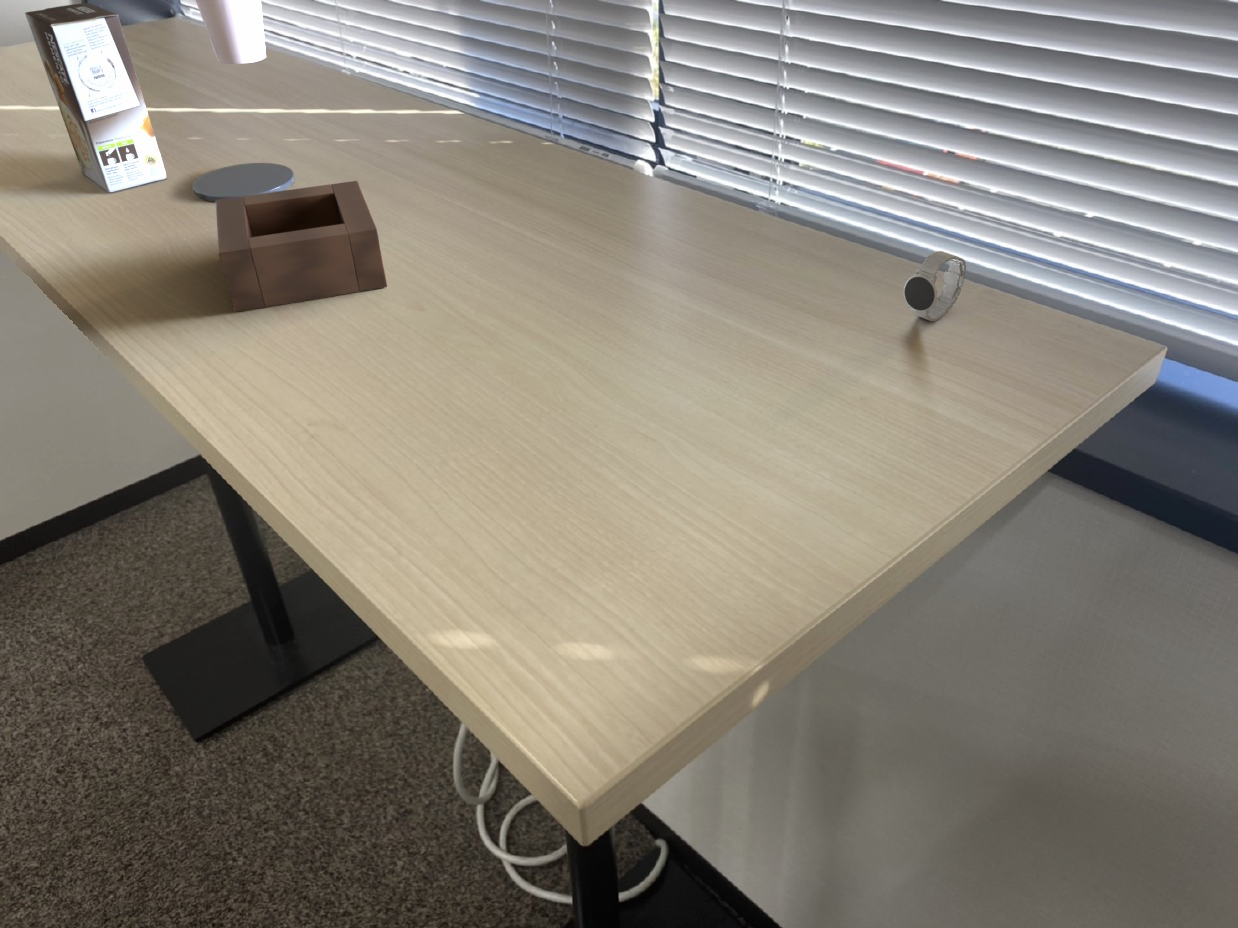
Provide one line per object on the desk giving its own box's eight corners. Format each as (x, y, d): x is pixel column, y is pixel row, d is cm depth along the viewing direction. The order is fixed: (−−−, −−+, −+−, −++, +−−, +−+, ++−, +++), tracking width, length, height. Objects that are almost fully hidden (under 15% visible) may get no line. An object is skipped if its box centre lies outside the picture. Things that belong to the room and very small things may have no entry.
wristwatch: (897, 320, 73) (907, 258, 70) (935, 299, 76) (946, 239, 73) (930, 333, 71) (942, 271, 68) (967, 312, 74) (980, 250, 71)
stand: (235, 312, 76) (218, 253, 74) (230, 254, 86) (215, 199, 83) (387, 287, 80) (377, 229, 77) (367, 233, 89) (357, 180, 86)
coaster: (194, 208, 95) (192, 202, 94) (193, 175, 102) (192, 170, 102) (299, 194, 97) (297, 188, 97) (291, 163, 105) (289, 157, 105)
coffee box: (170, 178, 102) (121, 13, 92) (108, 194, 98) (50, 24, 89) (138, 158, 107) (88, 0, 98) (78, 172, 104) (20, 10, 95)
